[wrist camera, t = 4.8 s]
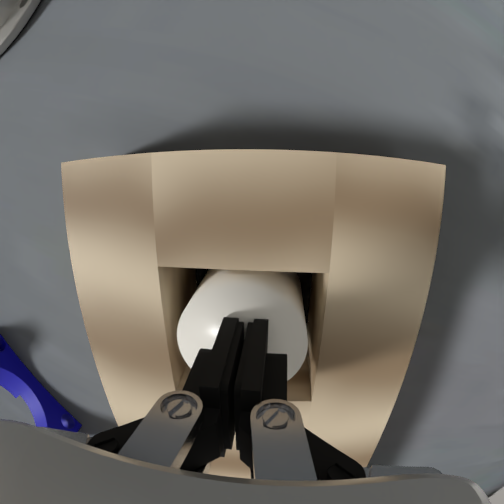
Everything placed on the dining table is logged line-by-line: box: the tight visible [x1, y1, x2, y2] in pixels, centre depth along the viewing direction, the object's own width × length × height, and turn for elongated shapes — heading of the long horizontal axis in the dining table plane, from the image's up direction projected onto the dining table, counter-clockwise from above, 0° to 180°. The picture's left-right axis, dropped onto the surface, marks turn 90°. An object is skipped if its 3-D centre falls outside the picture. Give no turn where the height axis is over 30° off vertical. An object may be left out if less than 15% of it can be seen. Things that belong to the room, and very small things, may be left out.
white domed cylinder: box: [177, 269, 308, 381], centre depth 14 cm, size 5×5×5 cm
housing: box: [61, 149, 446, 479], centre depth 16 cm, size 30×14×5 cm, turn 179°
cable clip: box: [0, 334, 82, 432], centre depth 19 cm, size 12×4×6 cm, turn 37°
